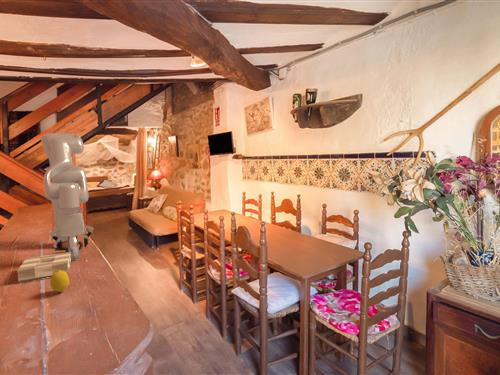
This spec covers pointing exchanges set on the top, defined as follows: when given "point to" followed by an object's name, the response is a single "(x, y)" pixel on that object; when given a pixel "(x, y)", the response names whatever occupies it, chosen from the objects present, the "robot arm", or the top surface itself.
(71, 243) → the pin
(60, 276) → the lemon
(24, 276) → the bore block
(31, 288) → the top surface
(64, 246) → the pottery mug
